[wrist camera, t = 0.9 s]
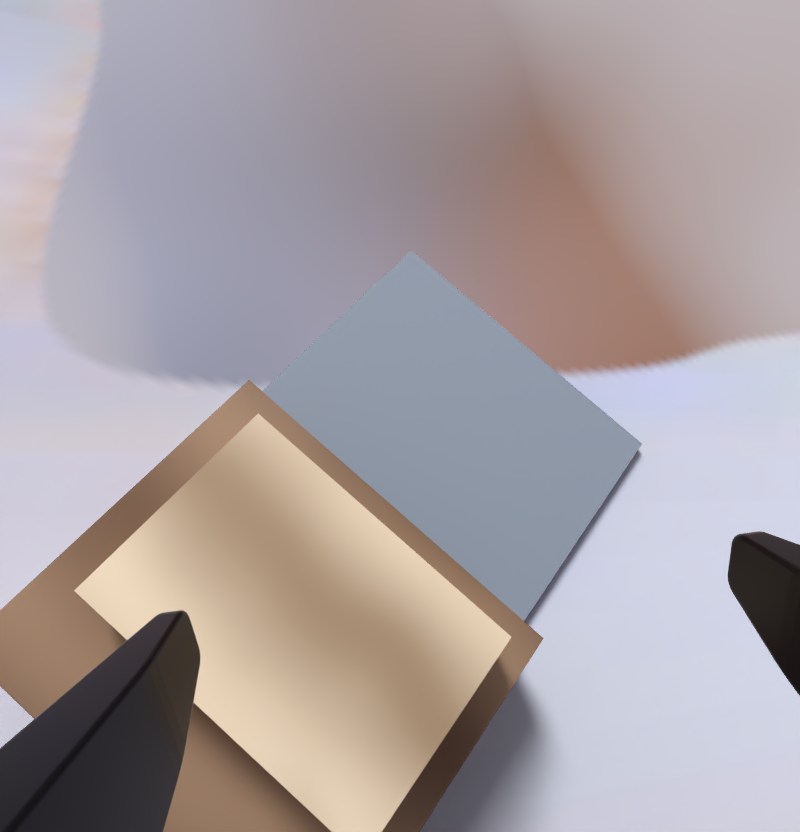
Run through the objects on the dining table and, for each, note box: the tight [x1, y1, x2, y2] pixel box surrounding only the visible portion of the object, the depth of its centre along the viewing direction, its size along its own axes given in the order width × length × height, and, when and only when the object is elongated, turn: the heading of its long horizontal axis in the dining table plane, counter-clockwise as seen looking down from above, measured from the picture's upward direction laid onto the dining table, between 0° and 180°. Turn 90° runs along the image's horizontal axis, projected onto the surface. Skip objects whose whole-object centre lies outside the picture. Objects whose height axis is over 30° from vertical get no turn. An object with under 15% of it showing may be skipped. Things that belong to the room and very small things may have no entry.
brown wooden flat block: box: [0, 380, 543, 832], centre depth 17 cm, size 10×12×4 cm
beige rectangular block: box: [74, 414, 511, 832], centre depth 15 cm, size 6×9×2 cm, turn 50°
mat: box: [262, 251, 642, 621], centre depth 22 cm, size 10×13×1 cm
